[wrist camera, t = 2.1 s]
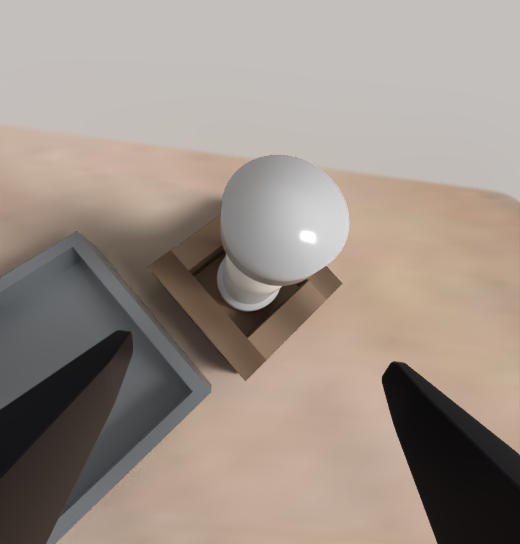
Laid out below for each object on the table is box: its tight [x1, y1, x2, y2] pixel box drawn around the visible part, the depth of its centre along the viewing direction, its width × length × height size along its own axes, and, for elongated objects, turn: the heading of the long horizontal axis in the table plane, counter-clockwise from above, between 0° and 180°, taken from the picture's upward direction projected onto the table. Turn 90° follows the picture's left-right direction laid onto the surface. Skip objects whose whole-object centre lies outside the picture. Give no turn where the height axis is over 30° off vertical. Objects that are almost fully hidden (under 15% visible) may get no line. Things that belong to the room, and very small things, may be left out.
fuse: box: [217, 155, 349, 313], centre depth 15 cm, size 5×5×12 cm
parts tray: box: [0, 231, 211, 544], centre depth 16 cm, size 14×14×3 cm
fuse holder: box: [148, 215, 342, 381], centre depth 20 cm, size 10×10×3 cm
